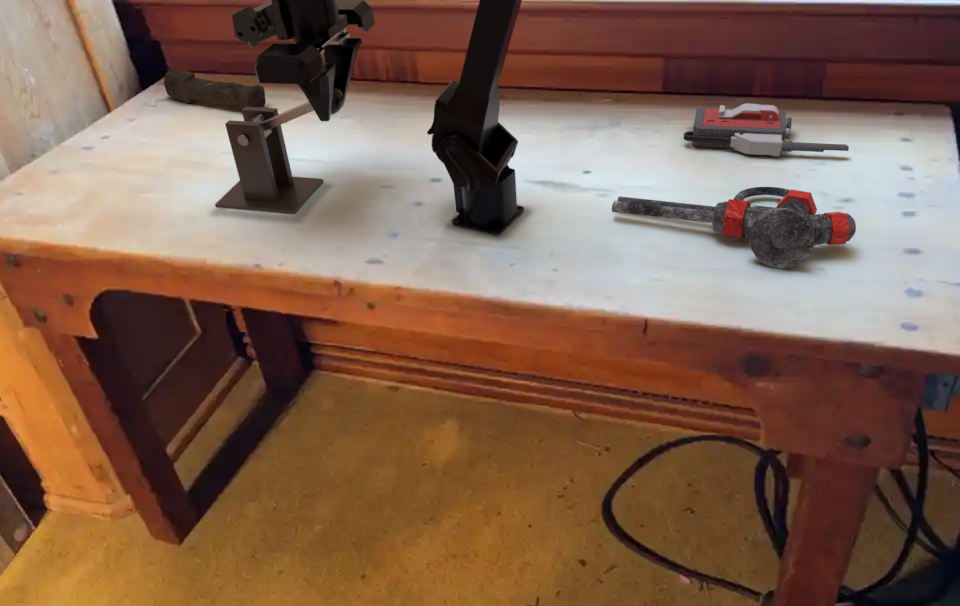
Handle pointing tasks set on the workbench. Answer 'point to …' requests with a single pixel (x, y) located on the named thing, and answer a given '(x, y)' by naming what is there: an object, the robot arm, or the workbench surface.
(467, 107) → the robot arm
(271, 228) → the workbench surface
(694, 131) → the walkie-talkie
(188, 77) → the hand tool
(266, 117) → the bracket
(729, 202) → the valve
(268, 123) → the lever
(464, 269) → the workbench surface
